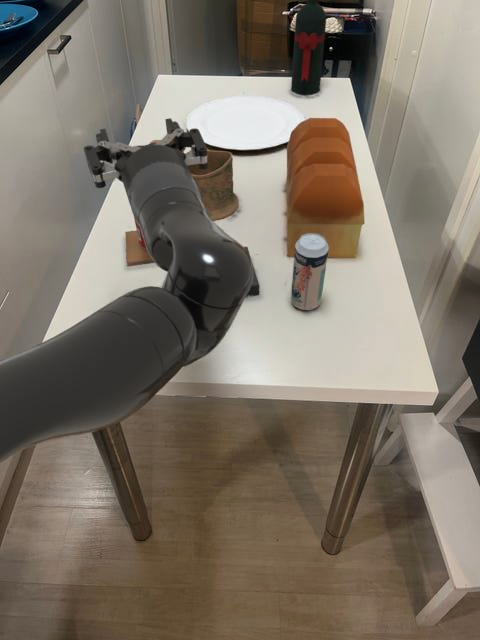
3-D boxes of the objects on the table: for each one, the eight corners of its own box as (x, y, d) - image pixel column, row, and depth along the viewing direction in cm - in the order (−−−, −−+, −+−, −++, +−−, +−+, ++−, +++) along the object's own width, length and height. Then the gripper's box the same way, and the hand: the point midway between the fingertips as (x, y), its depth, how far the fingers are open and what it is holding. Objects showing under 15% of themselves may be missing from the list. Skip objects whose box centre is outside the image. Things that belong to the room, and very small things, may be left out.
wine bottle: (288, 97, 133) (295, -38, 112) (292, 82, 140) (300, -47, 118) (317, 99, 132) (331, -37, 110) (320, 84, 139) (334, -47, 117)
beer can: (287, 293, 81) (292, 233, 72) (315, 289, 81) (323, 229, 73) (295, 314, 78) (300, 253, 69) (324, 309, 78) (333, 249, 69)
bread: (284, 182, 104) (288, 112, 94) (344, 183, 104) (355, 112, 93) (285, 257, 87) (290, 182, 76) (357, 259, 86) (372, 184, 76)
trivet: (127, 265, 86) (126, 262, 86) (126, 235, 92) (125, 231, 92) (184, 258, 87) (184, 255, 87) (179, 228, 93) (179, 225, 93)
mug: (166, 180, 105) (159, 125, 97) (245, 193, 101) (245, 137, 93) (143, 210, 98) (132, 153, 89) (227, 225, 94) (225, 167, 85)
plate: (167, 146, 116) (166, 138, 114) (211, 96, 135) (210, 89, 133) (288, 164, 109) (288, 156, 108) (316, 109, 128) (317, 102, 127)
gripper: (105, 235, 55) (88, 166, 66) (226, 211, 58) (192, 148, 69) (89, 175, 50) (74, 110, 61) (224, 152, 53) (187, 93, 64)
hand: (136, 130), depth 65 cm, fingers open, 8 cm apart
